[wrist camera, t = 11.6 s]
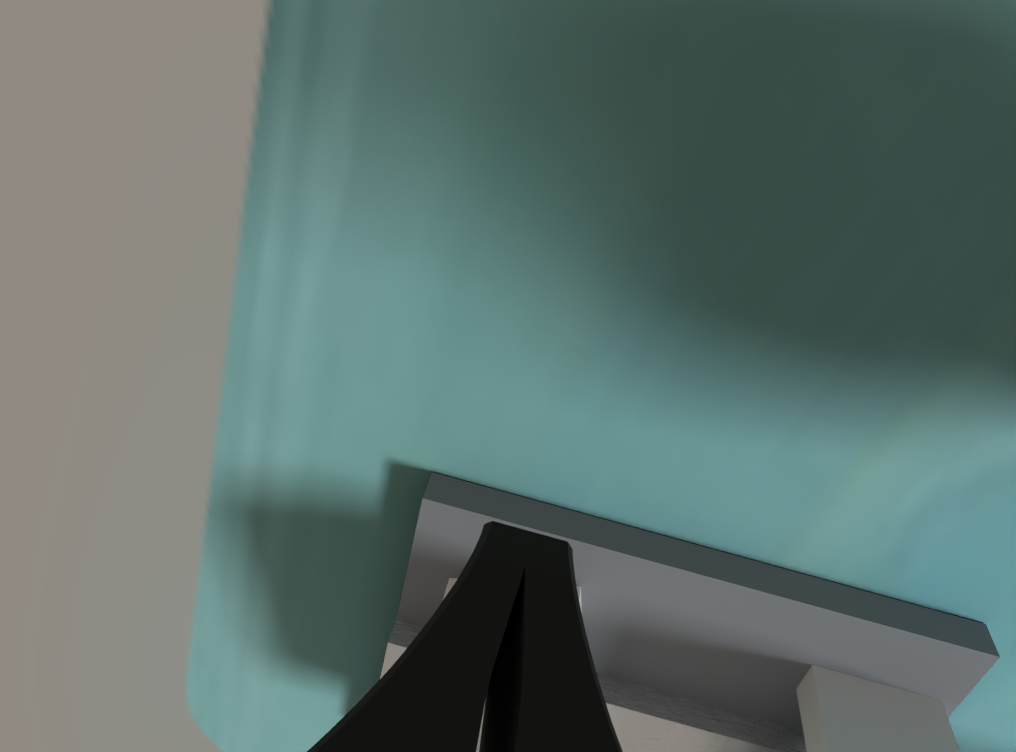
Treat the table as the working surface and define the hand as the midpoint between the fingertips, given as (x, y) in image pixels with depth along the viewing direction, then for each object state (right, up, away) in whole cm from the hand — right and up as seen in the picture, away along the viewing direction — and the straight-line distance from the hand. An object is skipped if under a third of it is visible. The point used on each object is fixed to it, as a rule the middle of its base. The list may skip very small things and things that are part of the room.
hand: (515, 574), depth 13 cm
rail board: (+4, -7, +15) cm, 17 cm away
